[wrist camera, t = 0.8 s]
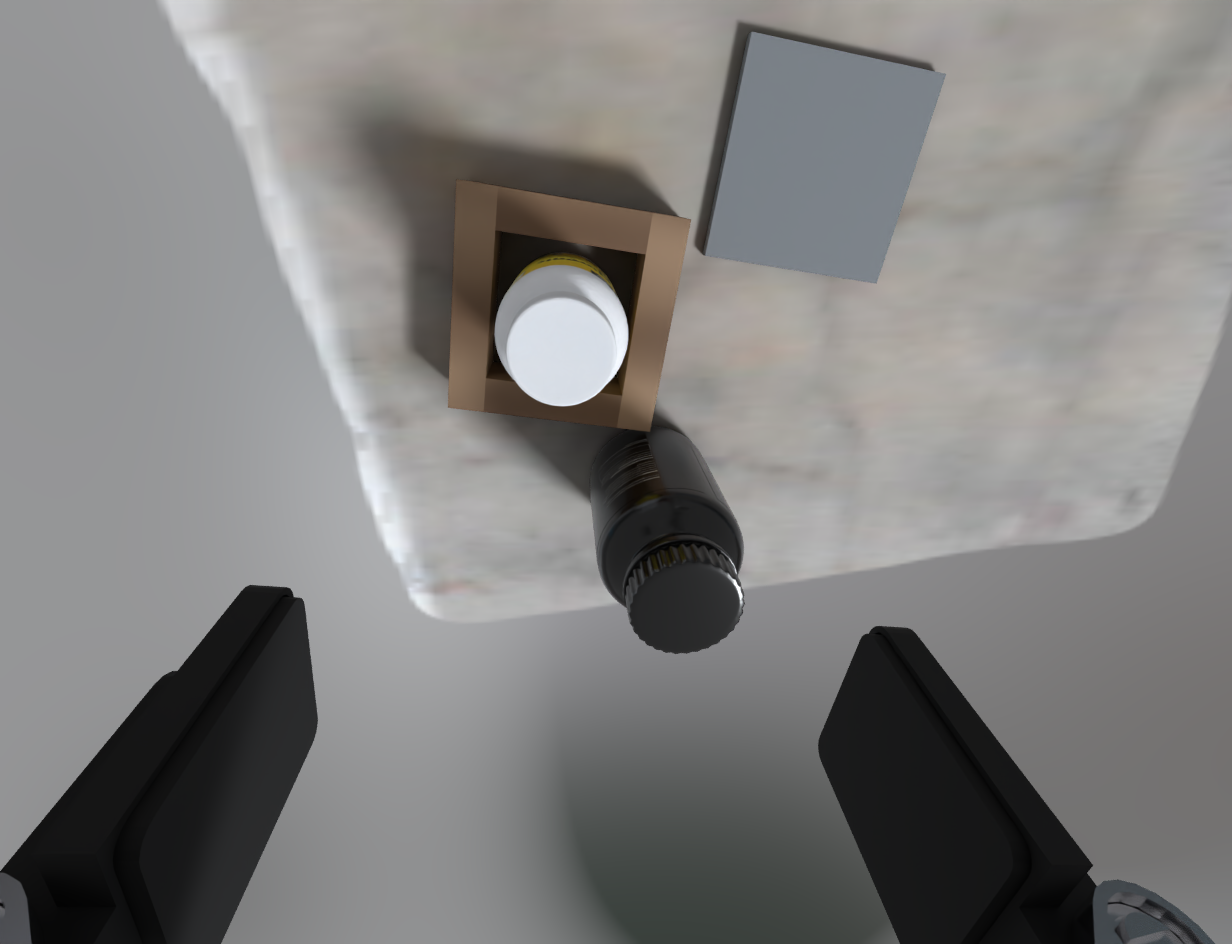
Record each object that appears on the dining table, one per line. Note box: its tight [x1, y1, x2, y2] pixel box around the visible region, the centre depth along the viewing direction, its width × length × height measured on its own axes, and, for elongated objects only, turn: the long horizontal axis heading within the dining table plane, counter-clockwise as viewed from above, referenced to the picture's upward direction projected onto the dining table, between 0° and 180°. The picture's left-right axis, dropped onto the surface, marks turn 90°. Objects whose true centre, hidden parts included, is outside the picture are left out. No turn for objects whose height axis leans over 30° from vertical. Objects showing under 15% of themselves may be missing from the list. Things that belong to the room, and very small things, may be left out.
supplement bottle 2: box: [590, 426, 745, 654], centre depth 29 cm, size 7×7×12 cm
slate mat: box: [703, 32, 946, 283], centre depth 27 cm, size 9×9×1 cm
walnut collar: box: [448, 179, 691, 432], centre depth 28 cm, size 10×10×3 cm
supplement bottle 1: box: [495, 252, 628, 406], centre depth 25 cm, size 5×5×10 cm
